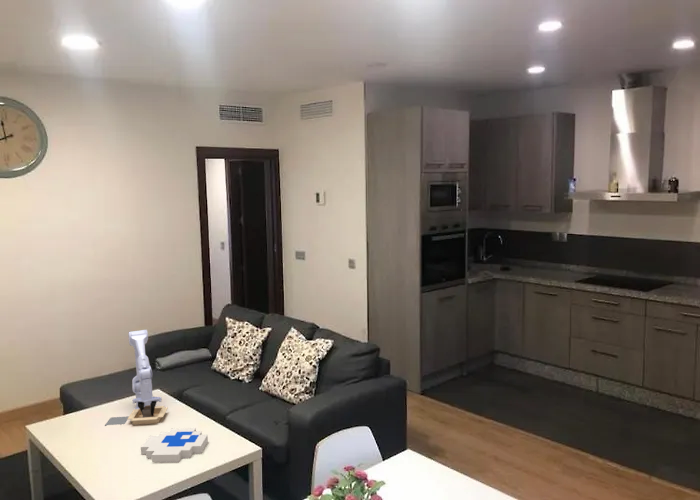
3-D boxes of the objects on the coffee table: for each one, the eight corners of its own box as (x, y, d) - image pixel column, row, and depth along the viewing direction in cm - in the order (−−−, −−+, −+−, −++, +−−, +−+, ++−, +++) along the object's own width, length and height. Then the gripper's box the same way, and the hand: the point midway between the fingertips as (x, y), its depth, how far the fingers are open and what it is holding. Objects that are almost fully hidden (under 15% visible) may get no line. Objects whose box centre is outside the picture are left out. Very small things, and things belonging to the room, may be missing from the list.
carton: (135, 413, 320) (135, 407, 319) (169, 411, 321) (168, 405, 321) (126, 427, 302) (125, 420, 301) (162, 425, 304) (161, 418, 303)
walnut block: (146, 416, 315) (145, 405, 314) (153, 415, 315) (153, 405, 314) (143, 421, 308) (142, 410, 307) (150, 421, 308) (150, 410, 308)
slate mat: (110, 418, 315) (110, 417, 314) (129, 416, 315) (129, 416, 315) (104, 425, 305) (104, 425, 305) (124, 424, 306) (124, 423, 306)
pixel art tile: (155, 428, 291) (211, 427, 290) (156, 436, 291) (212, 435, 291) (134, 455, 263) (195, 454, 262) (134, 463, 264) (196, 462, 263)
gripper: (130, 394, 305) (132, 418, 307) (158, 392, 306) (160, 417, 308) (133, 389, 312) (135, 413, 314) (161, 387, 313) (163, 411, 315)
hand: (148, 415), depth 311 cm, fingers closed on walnut block, 4 cm apart
